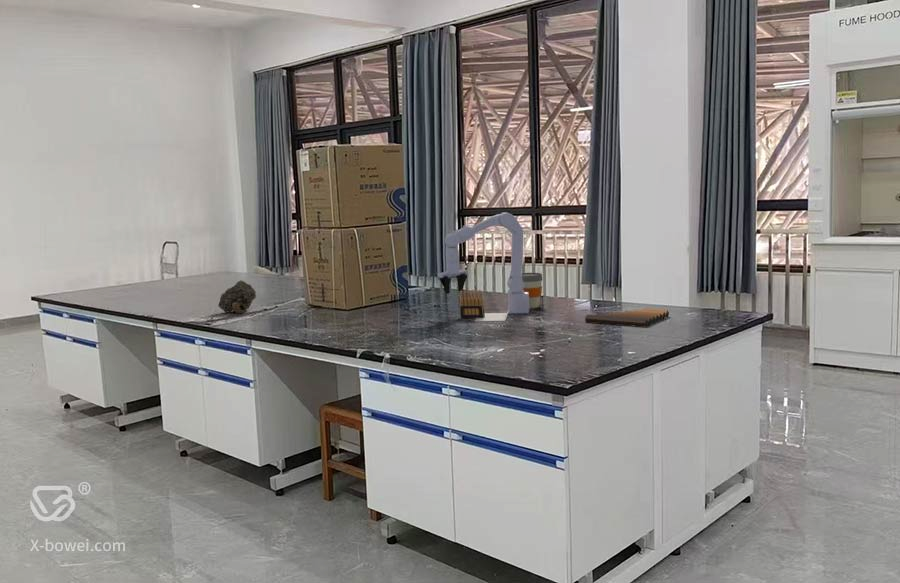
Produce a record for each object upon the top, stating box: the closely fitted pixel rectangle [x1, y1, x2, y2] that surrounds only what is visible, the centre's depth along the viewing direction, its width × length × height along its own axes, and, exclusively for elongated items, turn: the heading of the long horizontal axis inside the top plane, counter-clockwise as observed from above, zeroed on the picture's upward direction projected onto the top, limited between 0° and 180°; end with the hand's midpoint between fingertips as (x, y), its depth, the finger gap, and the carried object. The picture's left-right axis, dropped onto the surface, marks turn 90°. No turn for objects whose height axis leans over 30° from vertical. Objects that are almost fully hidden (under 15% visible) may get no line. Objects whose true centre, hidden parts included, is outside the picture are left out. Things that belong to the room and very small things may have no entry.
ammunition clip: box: [459, 289, 485, 319], centre depth 316 cm, size 11×2×12 cm, turn 62°
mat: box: [474, 312, 509, 323], centre depth 315 cm, size 12×18×1 cm
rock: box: [217, 280, 257, 315], centre depth 360 cm, size 18×14×15 cm
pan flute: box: [584, 308, 670, 327], centre depth 298 cm, size 25×3×25 cm
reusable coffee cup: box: [522, 272, 543, 309], centre depth 339 cm, size 13×13×15 cm
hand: (454, 292), depth 323 cm, fingers open, 7 cm apart
